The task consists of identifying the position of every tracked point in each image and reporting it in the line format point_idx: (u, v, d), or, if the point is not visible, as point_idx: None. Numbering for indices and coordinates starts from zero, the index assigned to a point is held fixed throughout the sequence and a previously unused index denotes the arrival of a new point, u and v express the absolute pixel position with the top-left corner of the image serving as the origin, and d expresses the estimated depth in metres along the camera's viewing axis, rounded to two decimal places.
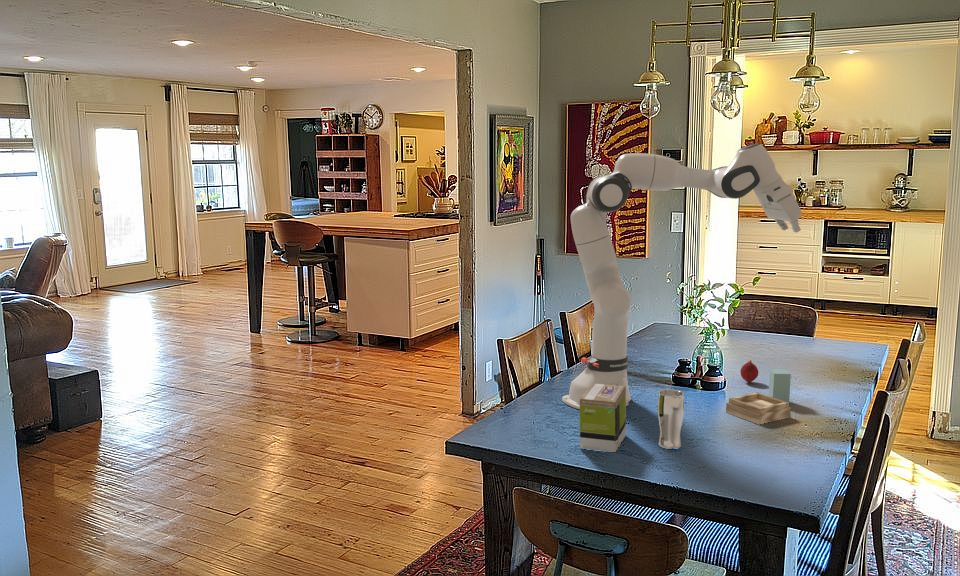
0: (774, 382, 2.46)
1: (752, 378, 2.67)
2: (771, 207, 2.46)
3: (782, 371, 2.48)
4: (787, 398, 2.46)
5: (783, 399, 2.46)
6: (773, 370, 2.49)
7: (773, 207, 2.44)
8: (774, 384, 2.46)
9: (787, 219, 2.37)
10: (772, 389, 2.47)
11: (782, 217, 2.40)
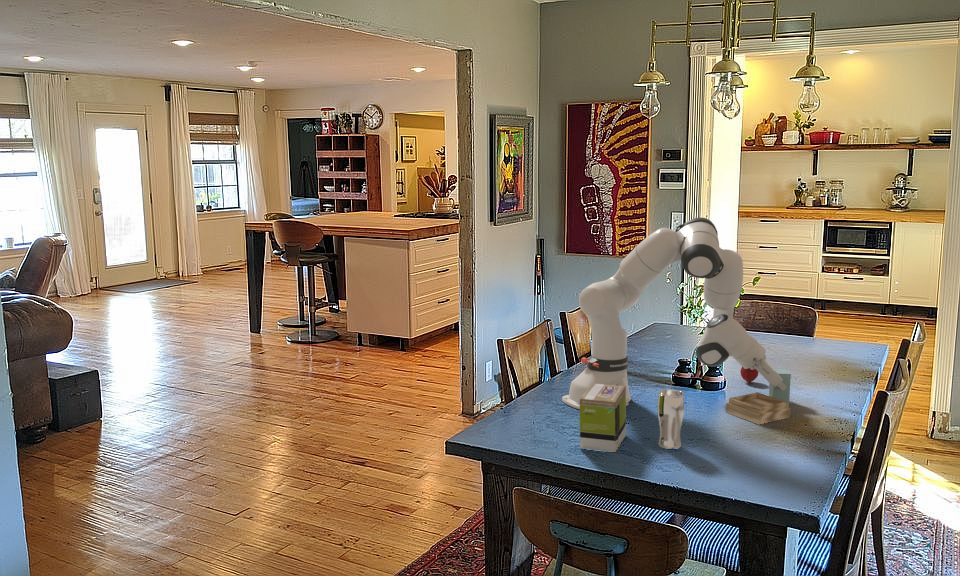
0: None
1: (752, 378, 2.67)
2: (767, 364, 2.45)
3: (782, 371, 2.48)
4: (787, 398, 2.46)
5: (783, 399, 2.46)
6: None
7: (765, 362, 2.47)
8: None
9: None
10: (772, 389, 2.47)
11: None
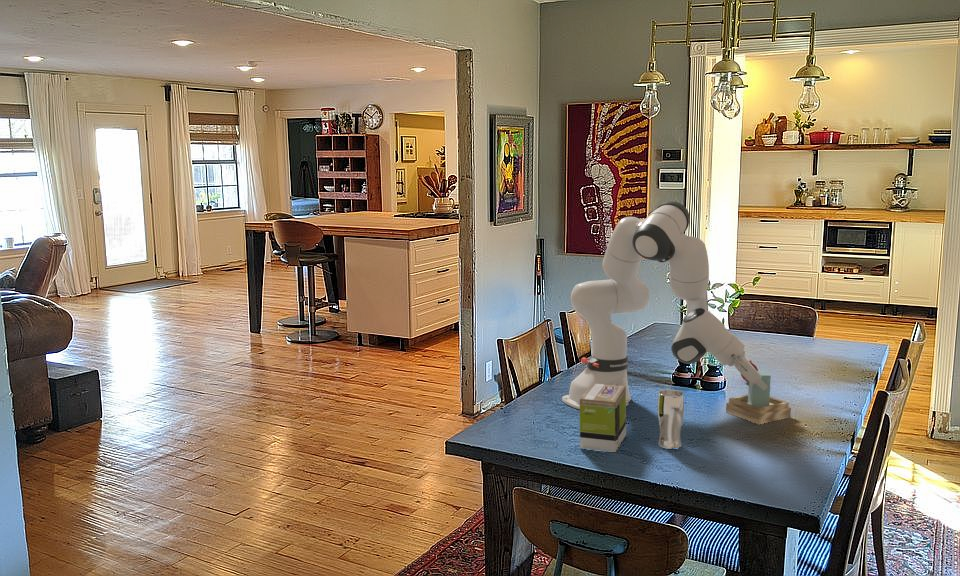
0: None
1: None
2: None
3: (762, 372, 2.35)
4: (767, 401, 2.34)
5: (763, 402, 2.34)
6: None
7: (744, 359, 2.35)
8: (753, 386, 2.34)
9: None
10: (751, 391, 2.35)
11: (749, 362, 2.39)
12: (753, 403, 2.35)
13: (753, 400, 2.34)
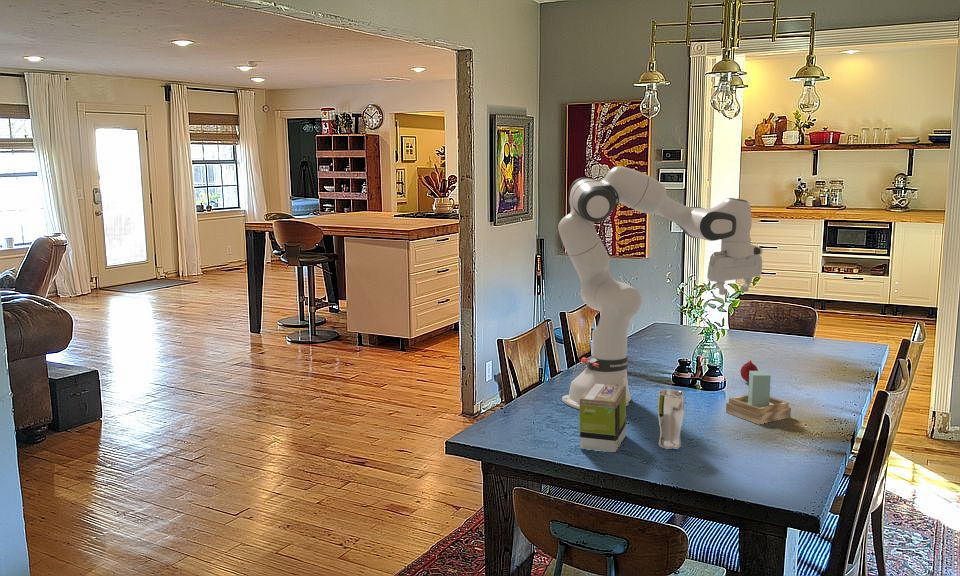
0: (753, 384, 2.34)
1: None
2: (733, 266, 2.46)
3: (762, 372, 2.35)
4: (767, 401, 2.34)
5: (763, 402, 2.34)
6: (752, 371, 2.37)
7: (737, 265, 2.47)
8: (753, 386, 2.34)
9: (755, 275, 2.50)
10: (751, 391, 2.35)
11: (747, 274, 2.49)
12: (753, 403, 2.35)
13: (753, 400, 2.34)
